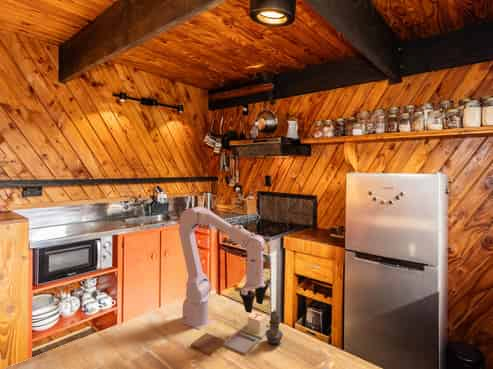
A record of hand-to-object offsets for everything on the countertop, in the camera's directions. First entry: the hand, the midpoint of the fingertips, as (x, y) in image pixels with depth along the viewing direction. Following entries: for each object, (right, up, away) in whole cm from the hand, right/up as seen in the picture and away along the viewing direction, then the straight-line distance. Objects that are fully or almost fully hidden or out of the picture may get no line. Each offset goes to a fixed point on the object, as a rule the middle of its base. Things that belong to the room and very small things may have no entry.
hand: (254, 307), depth 105 cm
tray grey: (-4, -10, -6) cm, 12 cm away
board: (-16, -10, -7) cm, 20 cm away
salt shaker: (+7, -10, -5) cm, 13 cm away
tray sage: (+1, -9, +3) cm, 10 cm away
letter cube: (+1, -9, +3) cm, 9 cm away
